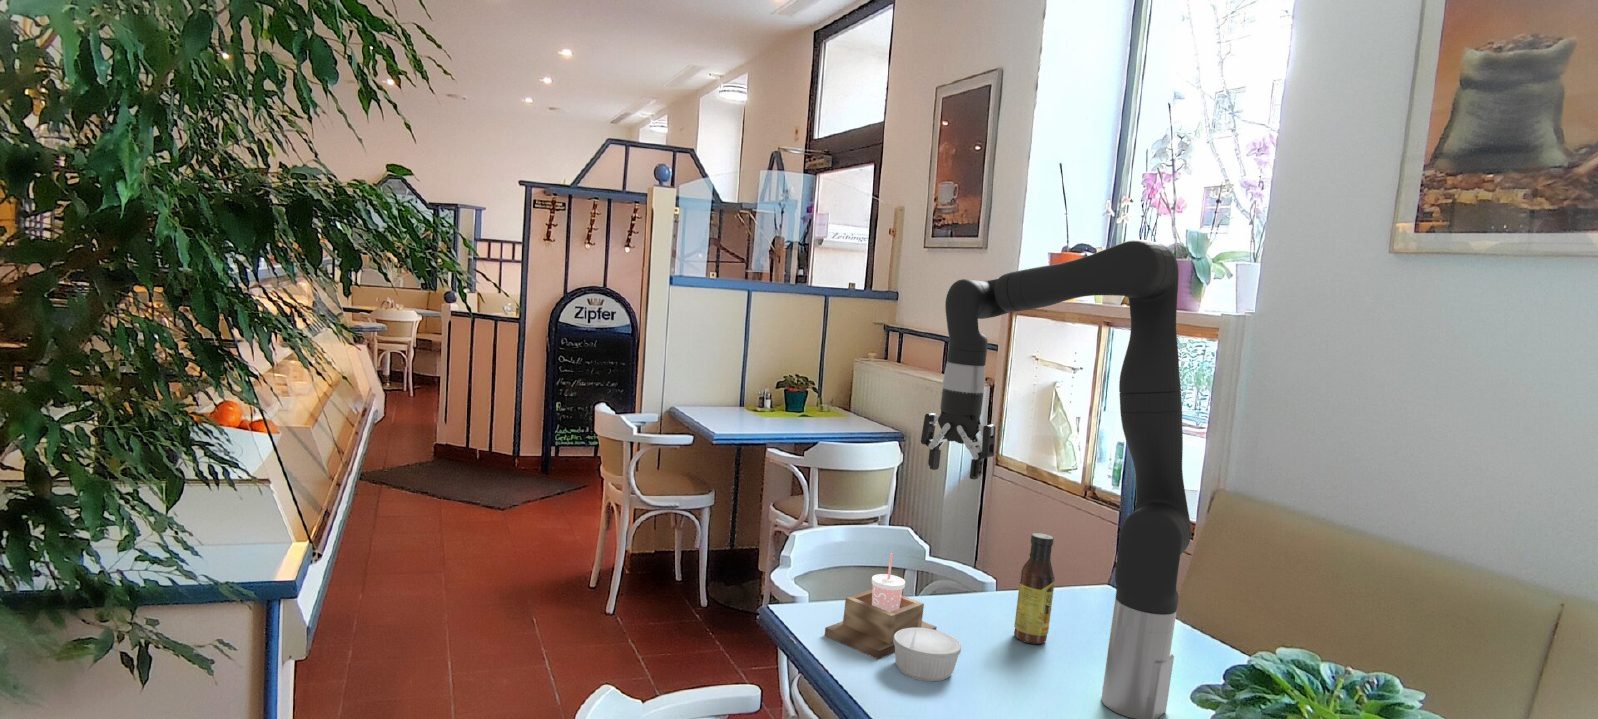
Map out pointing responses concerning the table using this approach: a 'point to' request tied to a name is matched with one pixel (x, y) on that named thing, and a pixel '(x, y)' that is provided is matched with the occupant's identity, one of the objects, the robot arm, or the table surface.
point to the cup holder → (875, 624)
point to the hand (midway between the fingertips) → (953, 473)
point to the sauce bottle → (1035, 592)
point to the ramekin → (926, 653)
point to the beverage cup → (887, 590)
